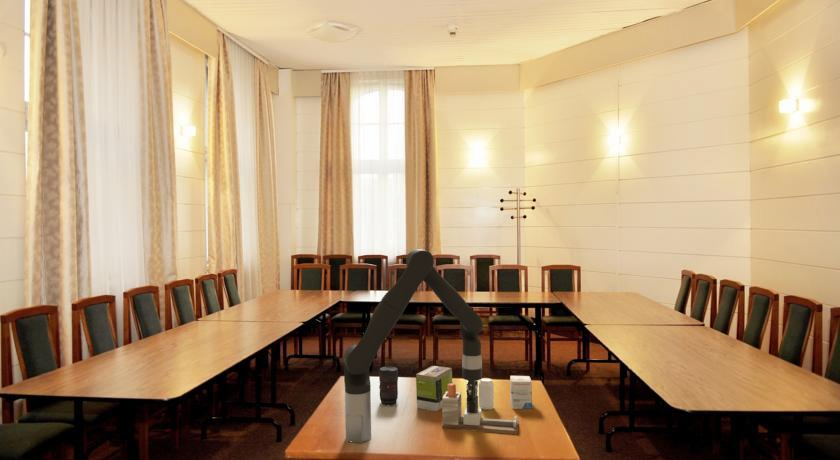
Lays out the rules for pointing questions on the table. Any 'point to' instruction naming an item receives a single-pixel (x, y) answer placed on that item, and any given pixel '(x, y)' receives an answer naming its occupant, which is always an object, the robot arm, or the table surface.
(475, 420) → the carriage
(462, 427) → the rail board
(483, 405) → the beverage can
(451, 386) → the cylinder
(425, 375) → the tea box
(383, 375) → the camera lens
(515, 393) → the ink box
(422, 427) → the table surface
